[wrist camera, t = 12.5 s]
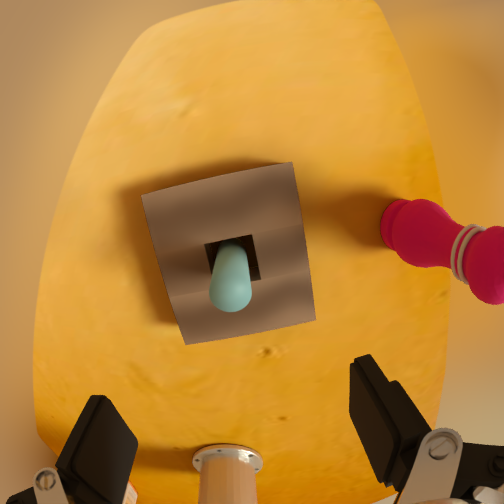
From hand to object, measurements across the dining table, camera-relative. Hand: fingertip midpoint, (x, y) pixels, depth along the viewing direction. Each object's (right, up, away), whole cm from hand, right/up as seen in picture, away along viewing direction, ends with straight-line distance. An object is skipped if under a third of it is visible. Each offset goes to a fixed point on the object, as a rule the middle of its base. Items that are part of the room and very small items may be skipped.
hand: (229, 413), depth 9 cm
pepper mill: (+19, +9, +22) cm, 30 cm away
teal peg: (-1, +6, +21) cm, 22 cm away
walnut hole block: (-1, +6, +21) cm, 22 cm away
